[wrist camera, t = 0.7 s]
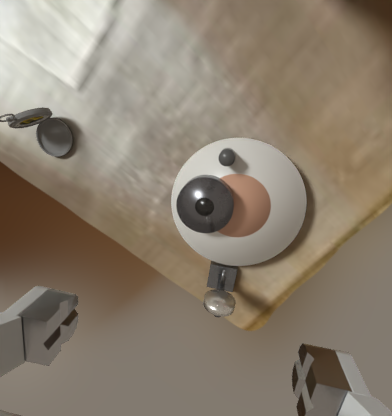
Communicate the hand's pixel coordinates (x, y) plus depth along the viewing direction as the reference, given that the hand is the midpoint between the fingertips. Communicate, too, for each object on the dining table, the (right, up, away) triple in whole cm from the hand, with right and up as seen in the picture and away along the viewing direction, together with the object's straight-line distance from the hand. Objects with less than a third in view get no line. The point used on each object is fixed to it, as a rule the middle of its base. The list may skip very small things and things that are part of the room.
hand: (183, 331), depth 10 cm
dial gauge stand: (+5, -8, +44) cm, 45 cm away
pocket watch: (-25, +18, +40) cm, 51 cm away
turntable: (+8, +6, +39) cm, 40 cm away
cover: (+2, +6, +37) cm, 37 cm away
